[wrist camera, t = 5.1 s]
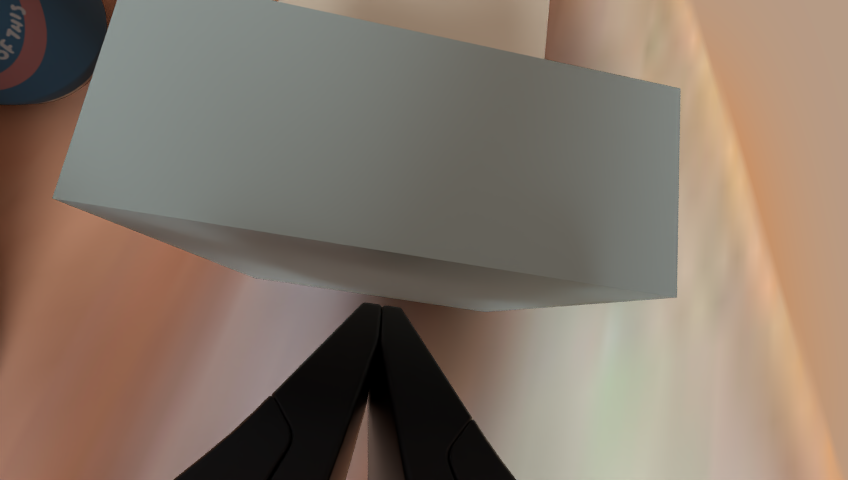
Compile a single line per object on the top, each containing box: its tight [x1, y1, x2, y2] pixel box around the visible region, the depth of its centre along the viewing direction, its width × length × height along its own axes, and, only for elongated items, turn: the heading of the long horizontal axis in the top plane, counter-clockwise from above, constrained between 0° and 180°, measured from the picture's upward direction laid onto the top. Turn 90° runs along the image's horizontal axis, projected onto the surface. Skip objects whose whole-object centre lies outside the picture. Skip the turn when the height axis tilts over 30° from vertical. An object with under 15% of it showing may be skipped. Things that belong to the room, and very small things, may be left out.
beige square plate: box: [278, 0, 550, 59], centre depth 21 cm, size 14×13×1 cm
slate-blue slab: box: [53, 0, 680, 312], centre depth 13 cm, size 4×10×12 cm, turn 82°
